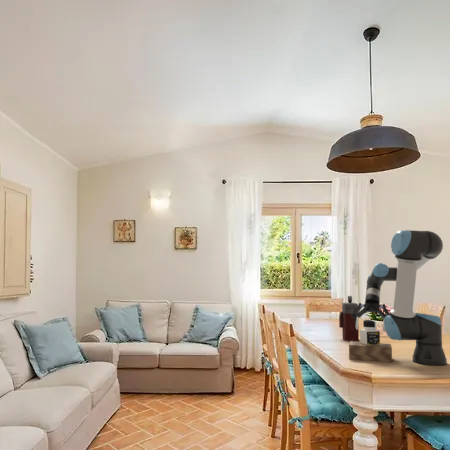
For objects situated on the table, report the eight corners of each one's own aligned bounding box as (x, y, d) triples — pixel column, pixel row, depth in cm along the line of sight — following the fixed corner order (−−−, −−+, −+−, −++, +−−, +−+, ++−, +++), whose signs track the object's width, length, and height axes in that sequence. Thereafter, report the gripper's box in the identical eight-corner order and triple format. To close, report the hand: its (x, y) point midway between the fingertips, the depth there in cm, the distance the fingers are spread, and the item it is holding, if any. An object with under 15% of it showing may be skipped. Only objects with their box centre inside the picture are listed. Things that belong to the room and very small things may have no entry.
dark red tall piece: (338, 338, 284) (338, 295, 287) (356, 338, 283) (355, 295, 286) (340, 340, 276) (340, 295, 279) (358, 340, 274) (358, 296, 277)
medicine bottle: (367, 345, 214) (366, 321, 215) (359, 343, 221) (359, 319, 222) (380, 345, 215) (379, 320, 217) (372, 343, 222) (372, 319, 224)
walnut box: (390, 357, 220) (390, 343, 221) (392, 362, 208) (391, 347, 209) (350, 354, 226) (349, 341, 227) (349, 359, 215) (348, 344, 216)
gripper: (397, 303, 236) (396, 335, 221) (350, 301, 246) (346, 331, 231) (396, 294, 232) (395, 326, 217) (348, 292, 242) (344, 322, 227)
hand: (370, 329), depth 224 cm, fingers open, 13 cm apart
